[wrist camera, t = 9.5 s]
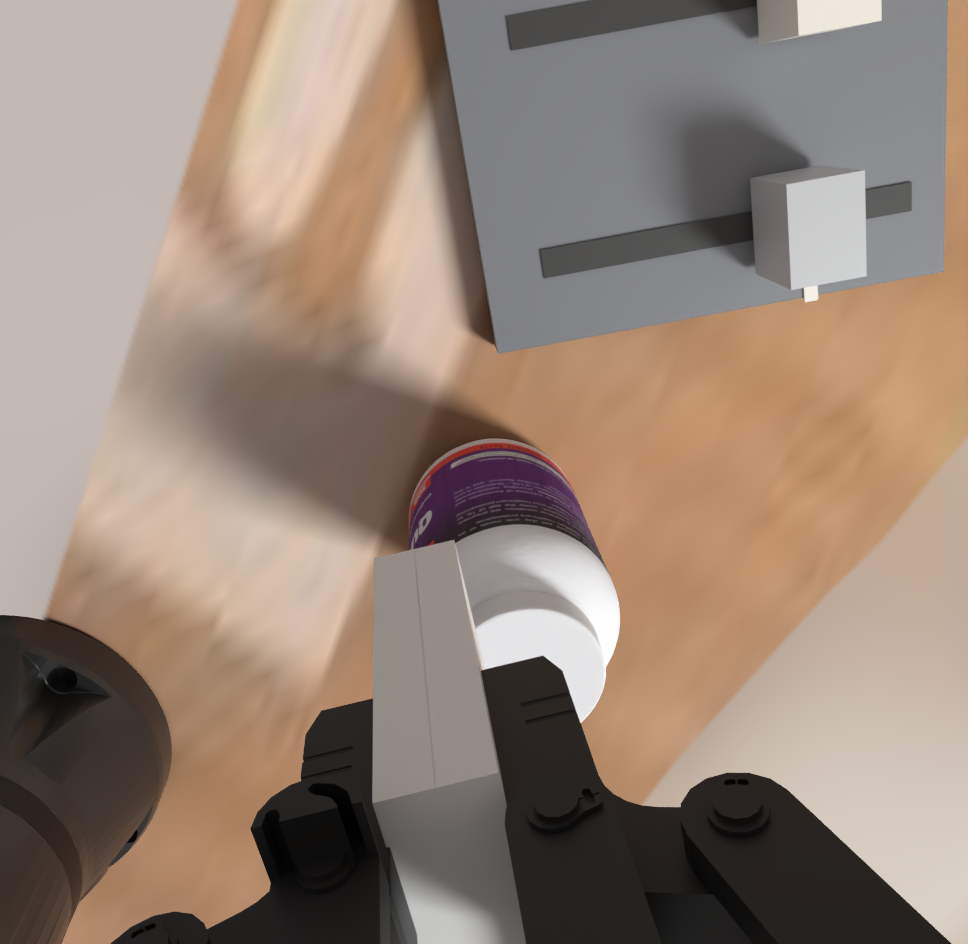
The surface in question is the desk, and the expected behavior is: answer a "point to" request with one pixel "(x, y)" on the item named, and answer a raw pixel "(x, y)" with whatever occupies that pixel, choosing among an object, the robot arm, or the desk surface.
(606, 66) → the panel
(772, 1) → the fader ivory
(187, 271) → the desk surface
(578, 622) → the pill bottle
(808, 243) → the fader grey
